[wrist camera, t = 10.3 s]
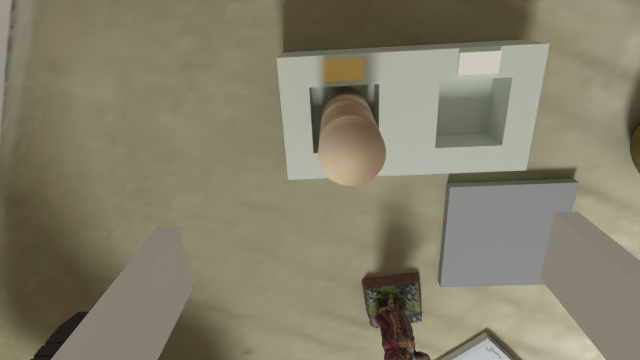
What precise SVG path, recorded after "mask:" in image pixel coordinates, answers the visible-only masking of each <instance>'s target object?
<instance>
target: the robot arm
mask: <svg viewBox="0 0 640 360" xmlns="http://www.w3.org/2000/svg"><path fill="white" fill-rule="evenodd" d="M540 278H541V279H542V281H543V282H544V283H545V284H546V286H547V287H548V288H549V289H550V291H551V292H552V293H553V294H554V295H555V297H556V298H557V299H558V300H559V302H560V303H561V304H562V305H563V307H564V308H565V309H566V310H567V312H568V313H569V314H570V315H571V317H572V318H573V319H574V320H575V321H576V323H577V324H578V325H579V326H580V328H581V329H582V330H583V331H584V333H585V334H586V335H587V336H588V338H589V339H590V340H591V341H592V343H593V344H594V345H595V346H596V348H597V349H598V350H599V351H600V352H601V354H602V355H603V356H604V357H605V359H606V360H640V260H638V259H637V258H636V257H635V256H633V255H632V254H631V253H629V252H628V251H627V250H626V249H624V248H623V247H622V246H621V245H619V244H618V243H617V242H615V241H614V240H613V239H612V238H610V237H609V236H608V235H607V234H605V233H604V232H603V231H602V230H600V229H599V228H598V227H596V226H595V225H594V224H593V223H591V222H590V221H589V220H588V219H586V218H585V217H584V216H582V215H581V214H580V213H579V212H557V213H555V214H554V218H553V223H552V227H551V232H550V236H549V240H548V245H547V249H546V254H545V258H544V262H543V267H542V271H541V276H540ZM193 288H194V287H193V283H192V279H191V275H190V270H189V266H188V262H187V258H186V254H185V249H184V245H183V241H182V237H181V233H180V228H179V226H166V227H157V229H156V230H155V231H154V232H153V234H152V235H151V236H150V237H149V238H148V240H147V241H146V242H145V243H144V245H143V246H142V247H141V248H140V250H139V251H138V252H137V253H136V255H135V256H134V257H133V258H132V260H131V261H130V262H129V263H128V264H127V266H126V267H125V268H124V269H123V271H122V272H121V273H120V274H119V276H118V277H117V278H116V279H115V281H114V282H113V283H112V284H111V286H110V287H109V288H108V289H107V290H106V292H105V293H104V294H103V295H102V297H101V298H100V299H99V300H98V302H97V303H96V304H95V305H94V307H93V308H92V309H91V310H90V312H78V313H77V314H75V315H74V316H73V317H71V318H70V319H68V320H67V321H66V322H64V323H63V324H62V325H60V326H59V327H58V328H57V330H56V331H55V332H54V333H53V334H52V335H51V337H50V338H49V339H48V340H47V341H46V344H45V345H43V346H42V347H41V348H40V349H39V350H38V352H37V353H36V354H35V355H34V358H33V359H31V360H158V358H159V356H160V354H161V352H162V350H163V348H164V346H165V344H166V342H167V340H168V338H169V336H170V334H171V332H172V330H173V328H174V326H175V324H176V322H177V320H178V318H179V316H180V314H181V312H182V310H183V308H184V306H185V304H186V302H187V300H188V298H189V296H190V294H191V292H192V290H193Z"/></svg>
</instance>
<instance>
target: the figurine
mask: <svg viewBox="0 0 640 360" xmlns="http://www.w3.org/2000/svg"><path fill="white" fill-rule="evenodd" d="M419 280H420V277H419V273H415V274H406V275H393V276H387V277H381V278H370V279H368V278H365V279H363V280H362V285H363V292H364V298H365V304H366V311H367V314H368V317H369V319H370V325H371V326H373V327H374V328H378V327H380V328H381V335H382V346H383V348H384V351H385V355H384V360H430V357H429V355H427V354H426V353H423V352H420V351H419V352H416V351H415V343H414V336H413V330H412V326H411V324H410V323H414V322H419V321H422V319H421V317H422V311H421V298H420V296H421V290H420V282H419Z"/></svg>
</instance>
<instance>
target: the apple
mask: <svg viewBox="0 0 640 360" xmlns="http://www.w3.org/2000/svg"><path fill="white" fill-rule="evenodd" d="M630 153H631V157H632V160H633V163H634V165H635V167H636V169H637V170H638V172H639V173H640V125H639V126H638V127H637V129H636V130H635V132H634V134H633V136H632V139H631V143H630Z"/></svg>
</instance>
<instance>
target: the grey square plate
mask: <svg viewBox="0 0 640 360" xmlns="http://www.w3.org/2000/svg"><path fill="white" fill-rule="evenodd" d="M578 183H579V182H577V181H576V180H574V179H573V178H566V179H540V180H514V181H488V182H462V183H447V190H446V200H445V211H444V222H443V233H442V243H441V254H440V265H439V276H438V282H439V285H440V287H461V286H499V285H536V284H545V283H544V282H543V281H542V279H541V278H540V276H541V271H542V267H543V262H544V258H545V254H546V249H547V245H548V240H549V236H550V232H551V227H552V223H553V218H554V214H555V213H557V212H571V211H572V207H573V203H574V199H575V195H576V191H577V187H578Z"/></svg>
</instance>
